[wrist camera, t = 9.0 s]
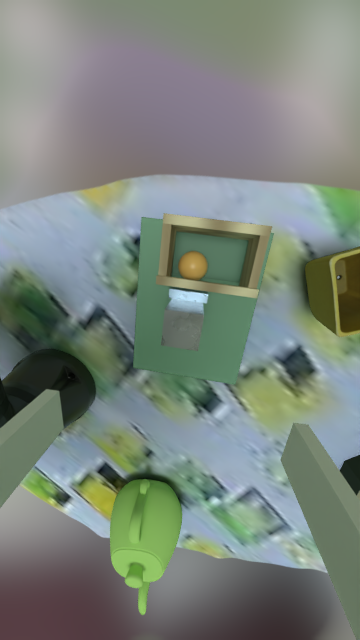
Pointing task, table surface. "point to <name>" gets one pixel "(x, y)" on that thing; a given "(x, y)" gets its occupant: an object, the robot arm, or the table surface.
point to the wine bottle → (352, 474)
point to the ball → (193, 265)
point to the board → (219, 312)
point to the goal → (220, 228)
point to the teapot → (144, 533)
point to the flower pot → (336, 291)
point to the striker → (184, 318)
